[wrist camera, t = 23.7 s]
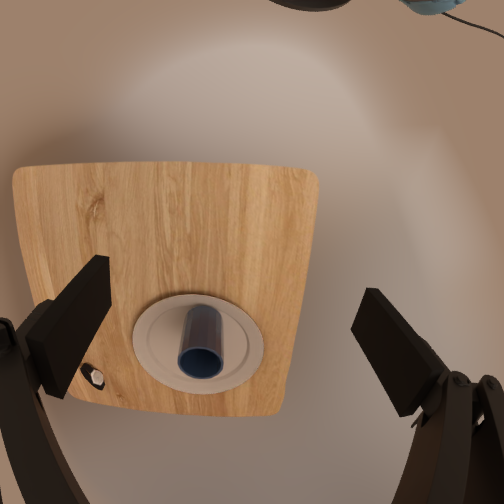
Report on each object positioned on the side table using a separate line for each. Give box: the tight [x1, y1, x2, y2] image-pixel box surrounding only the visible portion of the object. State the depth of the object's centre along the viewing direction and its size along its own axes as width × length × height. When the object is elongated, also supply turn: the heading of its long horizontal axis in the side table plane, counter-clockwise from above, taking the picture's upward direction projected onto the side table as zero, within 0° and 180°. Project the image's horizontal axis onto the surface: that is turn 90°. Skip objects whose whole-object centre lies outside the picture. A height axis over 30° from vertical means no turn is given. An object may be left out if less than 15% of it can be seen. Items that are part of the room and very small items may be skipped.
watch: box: [80, 363, 105, 390], centre depth 55 cm, size 8×5×4 cm, turn 19°
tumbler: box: [177, 306, 224, 379], centre depth 46 cm, size 7×7×11 cm
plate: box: [133, 294, 264, 394], centre depth 54 cm, size 26×26×2 cm
